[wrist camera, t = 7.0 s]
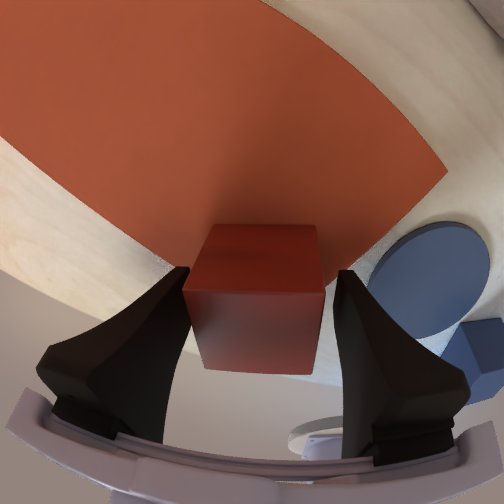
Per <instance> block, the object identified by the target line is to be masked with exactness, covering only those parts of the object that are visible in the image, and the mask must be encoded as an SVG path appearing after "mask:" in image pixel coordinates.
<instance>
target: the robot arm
mask: <svg viewBox="0 0 504 504" xmlns="http://www.w3.org/2000/svg"><path fill="white" fill-rule="evenodd" d="M189 273H190V267H187V266H176V267H175V268H174V269H172V270H171V271H170V272H169V273H168V274H167V275H165V276H164V277H163V278H162V279H161V280H160V281H159V282H157V283H156V284H155V285H154V286H153V287H152V288H150V289H149V290H148V291H147V292H146V293H144V294H143V295H142V296H141V297H139V298H138V299H137V300H136V301H134V302H133V303H132V304H131V305H129V306H128V307H127V308H125V309H124V310H122V311H121V312H119V313H118V314H116V315H115V316H113V317H112V318H110V319H109V320H107V321H105V322H103V323H101V324H100V325H98V326H96V327H94V328H92V329H91V330H89V331H87V332H84V333H82V334H80V335H78V336H75V337H73V338H70V339H68V340H65V341H62V342H59V343H56V344H54V345H50V346H49V347H48V349H47V350H46V352H45V353H44V355H43V357H42V358H41V360H40V362H39V363H38V365H37V367H36V371H37V374H38V376H39V377H40V378H41V380H42V381H43V382H44V383H45V384H46V385H47V387H48V388H49V389H50V390H51V391H52V392H53V393H54V394H55V395H56V396H57V397H58V398H57V400H56V402H55V404H54V406H53V404H51V402H50V401H48V399H46V398H45V397H44V396H42V395H41V394H39V393H37V392H35V391H33V390H31V389H29V388H25V390H24V391H23V393H22V395H21V397H20V399H19V401H18V403H17V405H16V406H15V408H14V410H13V412H12V414H11V416H10V418H9V420H8V422H7V424H6V427H5V428H6V430H8V431H9V432H10V433H11V434H13V435H14V436H15V437H17V438H18V439H19V440H21V441H22V442H23V443H25V444H26V445H28V446H29V447H31V448H32V449H33V450H35V451H37V452H38V453H40V454H41V455H43V456H44V457H46V458H48V459H49V460H51V461H53V462H54V463H56V464H58V465H60V466H62V467H64V468H65V469H67V470H69V471H71V472H73V473H75V474H77V475H78V476H80V477H83V478H85V479H87V480H89V481H91V482H93V483H95V484H97V485H100V486H102V487H104V488H106V489H109V490H111V491H112V493H111V496H110V500H109V503H108V504H436V503H439V502H442V501H445V500H448V499H451V498H453V497H456V496H458V495H461V494H464V493H466V492H468V491H470V490H472V489H475V488H477V487H479V486H481V485H483V484H485V483H487V482H489V481H491V480H493V479H495V478H497V477H499V476H500V475H502V474H503V473H504V470H503V464H502V459H501V454H500V449H499V445H498V441H497V436H496V433H495V429H494V425H493V422H492V421H488V422H486V423H483V424H480V425H477V426H475V427H472V428H469V429H468V430H466V431H464V432H463V433H462V434H460V436H458V438H456V439H453V435H452V430H451V428H453V427H454V420H453V417H454V416H455V415H456V414H457V413H458V412H459V411H460V410H461V408H463V407H464V406H465V404H466V403H467V402H468V401H469V399H470V396H471V390H470V387H469V384H468V381H467V378H466V376H465V373H464V371H463V370H461V369H459V368H457V367H456V366H454V365H452V364H450V363H448V362H447V361H445V360H443V359H442V358H440V357H439V356H437V355H436V354H434V353H432V352H431V351H430V350H428V349H427V348H425V347H424V346H423V345H422V344H420V343H419V342H418V341H417V340H415V339H414V338H413V337H412V336H410V335H409V334H408V333H407V332H406V331H405V330H404V329H403V328H402V327H400V326H399V325H398V324H397V323H396V322H395V321H394V320H393V319H392V318H391V317H390V316H389V314H388V313H387V312H386V311H385V310H384V309H383V308H382V307H381V305H380V304H379V303H378V302H377V300H376V299H375V298H374V297H373V296H372V294H371V293H370V292H369V290H368V289H367V288H366V287H365V285H364V284H363V283H362V281H361V280H360V279H359V277H358V276H357V275H356V273H355V272H354V271H353V270H339V271H338V278H337V284H336V290H335V297H334V302H333V317H334V329H335V334H336V340H337V346H338V351H339V357H340V363H341V369H342V378H343V434H332V435H311V436H309V437H308V440H307V442H306V445H305V448H304V451H303V453H302V456H301V459H308V461H288V460H286V461H285V460H264V459H249V458H240V457H229V456H223V455H216V454H209V453H203V452H197V451H191V450H186V449H181V448H177V447H172V446H168V445H163V433H164V425H165V418H166V411H167V405H168V400H169V395H170V390H171V385H172V380H173V377H174V372H175V369H176V365H177V362H178V359H179V357H180V354H181V351H182V349H183V346H184V344H185V341H186V338H187V336H188V333H189V330H190V328H191V325H192V324H191V321H190V317H189V314H188V310H187V306H186V303H185V299H184V295H183V291H182V289H183V286H184V284H185V282H186V280H187V277H188V275H189ZM275 481H307V484H298V483H284V482H275Z"/></svg>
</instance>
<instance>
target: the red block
mask: <svg viewBox="0 0 504 504" xmlns="http://www.w3.org/2000/svg"><path fill="white" fill-rule="evenodd" d="M182 291H183V295H184V299H185V303H186V306H187V310H188V314H189V317H190V321H191V324H192V328H193V331H194V335H195V338H196V342H197V345H198V348H199V352H200V355H201V358H202V361H203V364H204V368H206V369H211V370H221V371H232V372H246V373H263V374H289V375H311V374H312V372H313V367H314V362H315V357H316V352H317V346H318V340H319V335H320V329H321V323H322V316H323V310H324V303H325V296H326V292H325V284H324V277H323V270H322V263H321V257H320V250H319V244H318V238H317V232H316V227H315V225H280V224H214V225H212V227H211V229H210V231H209V233H208V235H207V237H206V239H205V241H204V244H203V246H202V248H201V250H200V252H199V254H198V256H197V258H196V260H195V262H194V265H193V267H192V269H191V271H190V273H189V275H188V277H187V280H186V282H185V284H184V286H183V289H182Z"/></svg>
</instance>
